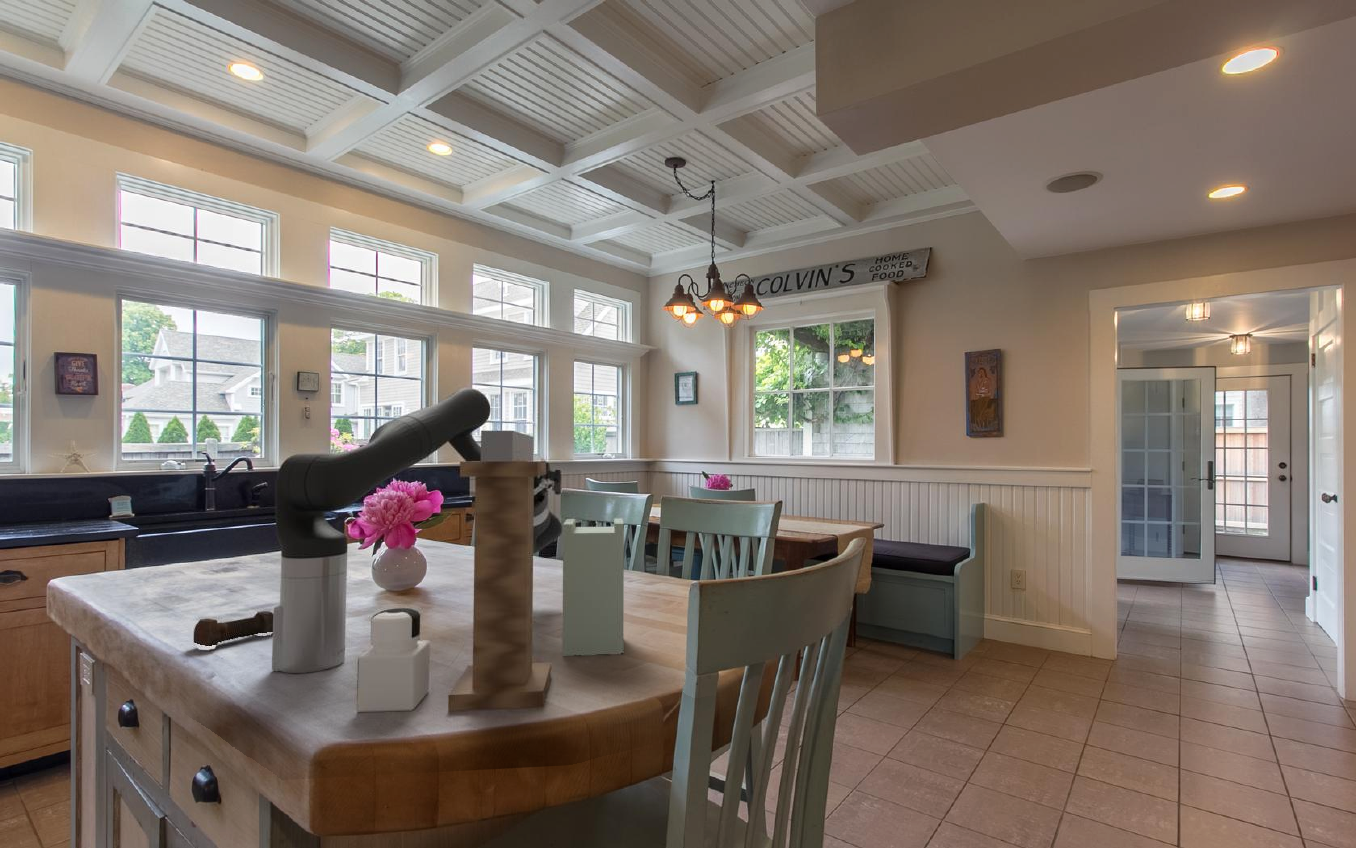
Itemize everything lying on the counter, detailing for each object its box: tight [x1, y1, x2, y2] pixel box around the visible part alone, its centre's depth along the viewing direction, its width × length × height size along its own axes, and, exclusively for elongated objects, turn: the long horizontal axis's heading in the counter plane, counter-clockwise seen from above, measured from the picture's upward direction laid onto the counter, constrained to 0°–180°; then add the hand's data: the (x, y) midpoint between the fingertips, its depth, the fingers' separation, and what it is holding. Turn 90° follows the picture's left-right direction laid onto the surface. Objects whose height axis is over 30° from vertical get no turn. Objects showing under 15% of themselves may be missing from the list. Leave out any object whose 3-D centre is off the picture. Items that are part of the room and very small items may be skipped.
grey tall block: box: [561, 517, 625, 657], centre depth 113 cm, size 10×10×22 cm
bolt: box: [193, 610, 274, 646], centre depth 118 cm, size 6×5×15 cm
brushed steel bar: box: [480, 430, 534, 462], centre depth 96 cm, size 4×24×4 cm, turn 6°
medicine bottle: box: [356, 607, 431, 713], centre depth 87 cm, size 7×7×12 cm
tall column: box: [447, 460, 552, 712], centre depth 91 cm, size 12×12×32 cm
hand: (519, 464), depth 119 cm, fingers open, 8 cm apart
